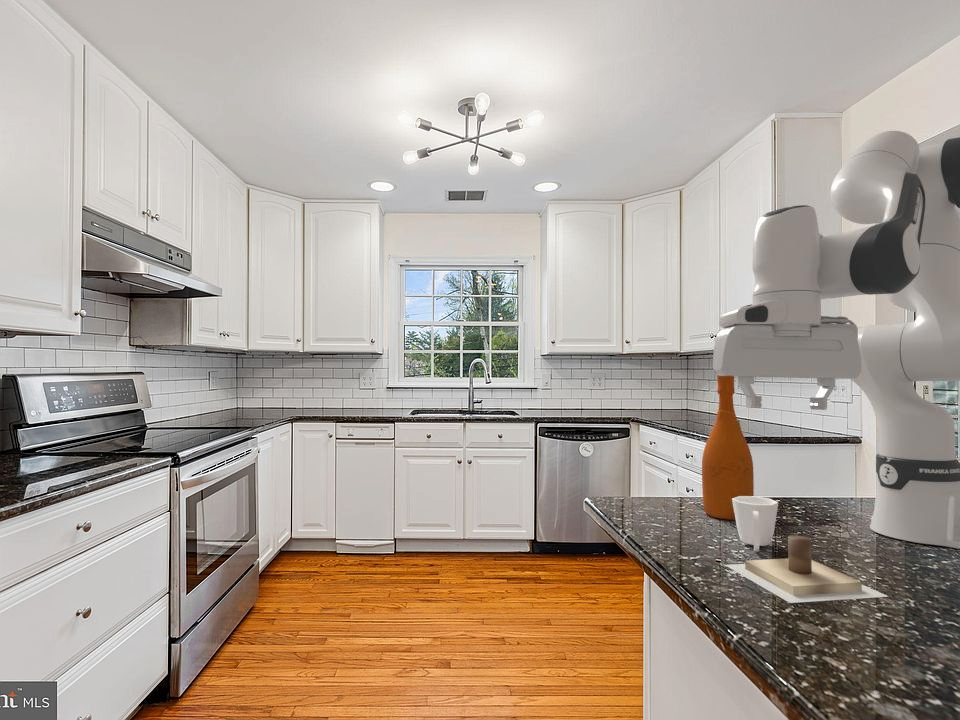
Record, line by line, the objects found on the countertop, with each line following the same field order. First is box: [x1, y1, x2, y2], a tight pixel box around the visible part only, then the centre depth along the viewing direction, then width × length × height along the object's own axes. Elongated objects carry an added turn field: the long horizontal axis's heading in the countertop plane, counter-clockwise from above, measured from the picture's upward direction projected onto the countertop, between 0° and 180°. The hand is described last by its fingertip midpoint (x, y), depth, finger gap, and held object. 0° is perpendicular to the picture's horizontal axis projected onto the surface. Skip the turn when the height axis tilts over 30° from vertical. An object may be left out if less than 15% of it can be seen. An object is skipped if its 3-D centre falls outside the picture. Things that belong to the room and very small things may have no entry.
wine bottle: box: [701, 375, 755, 521], centre depth 114 cm, size 10×10×30 cm
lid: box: [744, 535, 863, 596], centre depth 76 cm, size 10×10×6 cm
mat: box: [724, 563, 889, 604], centre depth 76 cm, size 14×14×1 cm
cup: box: [732, 496, 779, 553], centre depth 90 cm, size 7×10×8 cm
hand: (786, 408), depth 80 cm, fingers open, 8 cm apart
